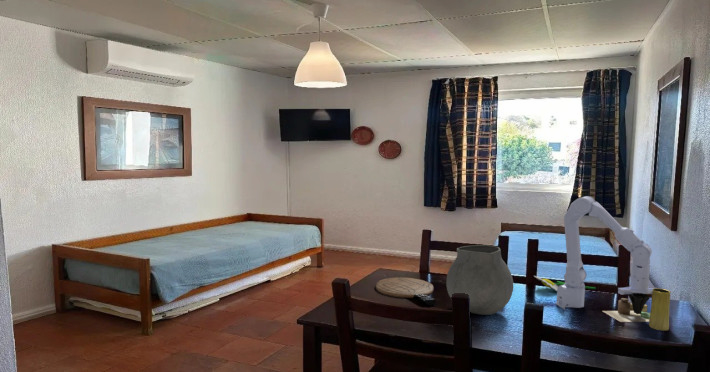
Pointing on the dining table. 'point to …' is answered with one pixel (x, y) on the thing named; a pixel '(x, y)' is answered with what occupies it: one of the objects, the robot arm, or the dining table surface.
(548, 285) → the decorative flower
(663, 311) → the vase
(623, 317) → the tuner board
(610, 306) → the dining table surface
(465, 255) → the ceramic pot
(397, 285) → the trivet
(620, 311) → the knob
